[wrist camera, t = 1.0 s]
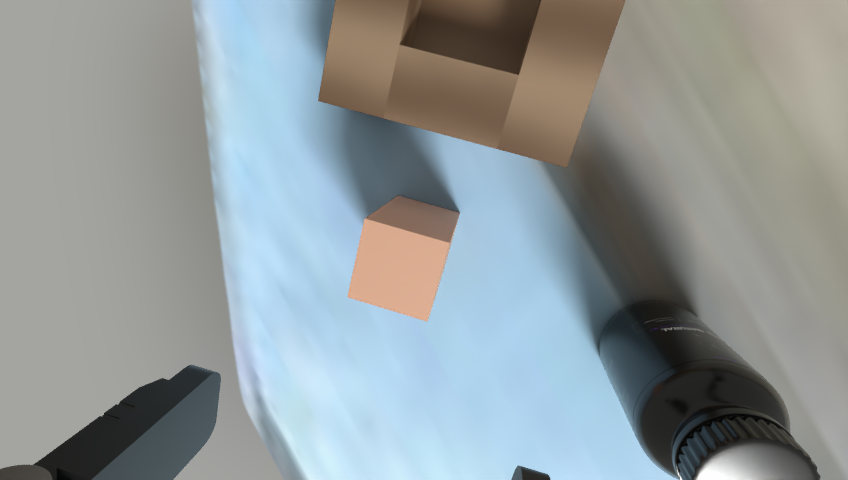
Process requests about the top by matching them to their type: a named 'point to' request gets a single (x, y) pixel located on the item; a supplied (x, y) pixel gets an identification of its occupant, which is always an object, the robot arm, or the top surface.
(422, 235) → the terracotta peg
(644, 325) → the supplement bottle
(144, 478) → the robot arm
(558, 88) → the walnut base
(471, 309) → the top surface
